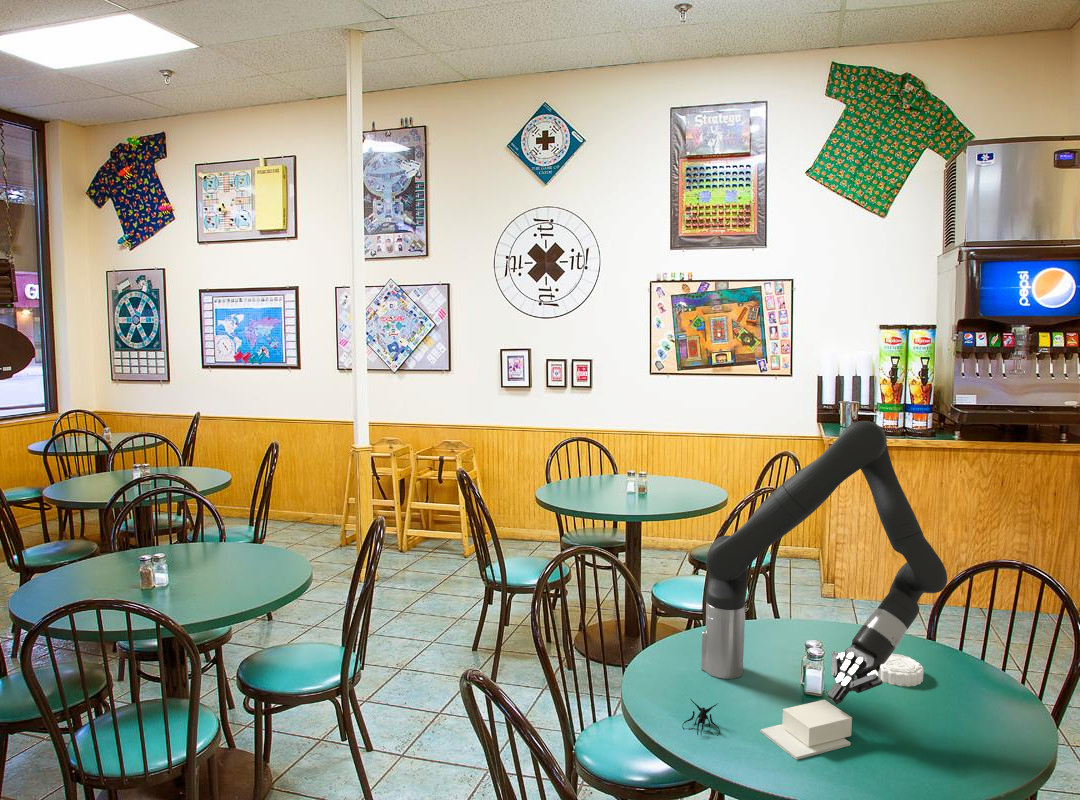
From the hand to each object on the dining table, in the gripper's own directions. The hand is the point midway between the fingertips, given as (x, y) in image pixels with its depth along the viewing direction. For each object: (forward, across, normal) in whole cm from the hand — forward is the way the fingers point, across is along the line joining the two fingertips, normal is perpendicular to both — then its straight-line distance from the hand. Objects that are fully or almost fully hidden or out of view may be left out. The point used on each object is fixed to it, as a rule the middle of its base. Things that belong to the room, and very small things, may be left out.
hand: (832, 700), depth 162 cm
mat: (+10, 0, 0) cm, 10 cm away
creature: (+22, -11, -12) cm, 28 cm away
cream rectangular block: (+2, 0, +4) cm, 4 cm away
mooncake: (-18, -14, +29) cm, 37 cm away
